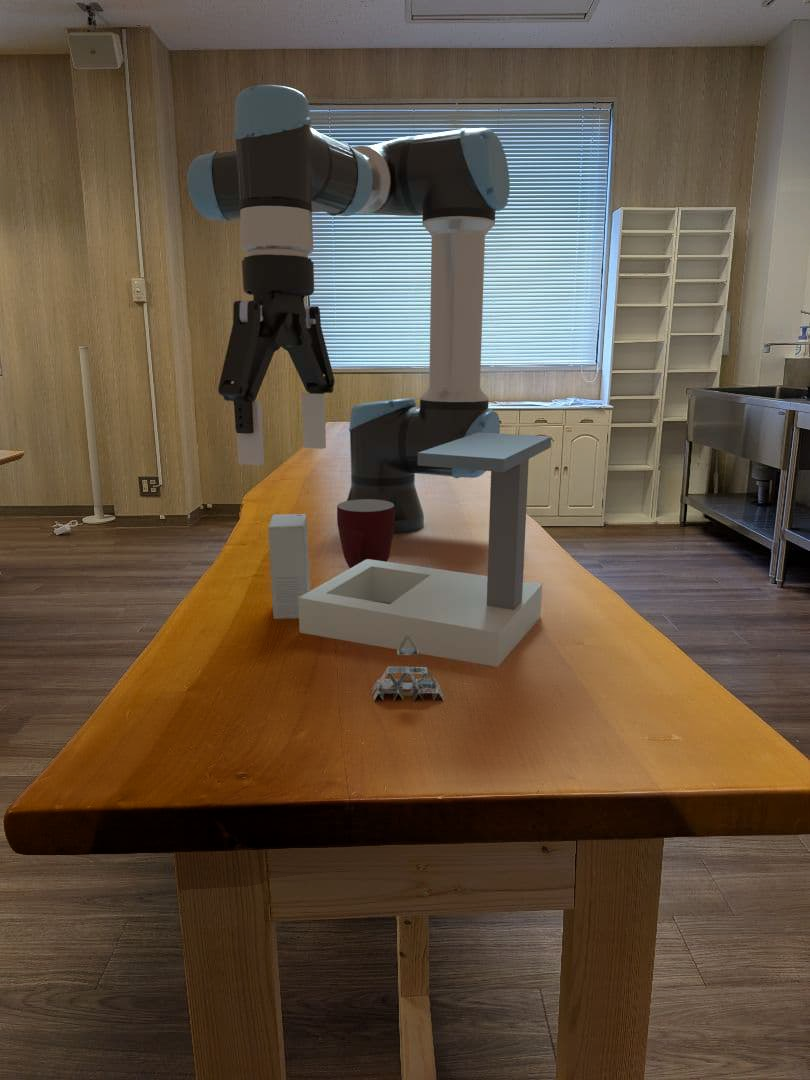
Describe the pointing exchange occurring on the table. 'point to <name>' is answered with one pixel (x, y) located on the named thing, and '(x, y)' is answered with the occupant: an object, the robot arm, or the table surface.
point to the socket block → (418, 611)
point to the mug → (365, 529)
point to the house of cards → (397, 685)
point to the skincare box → (288, 563)
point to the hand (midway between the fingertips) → (285, 455)
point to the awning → (498, 501)
